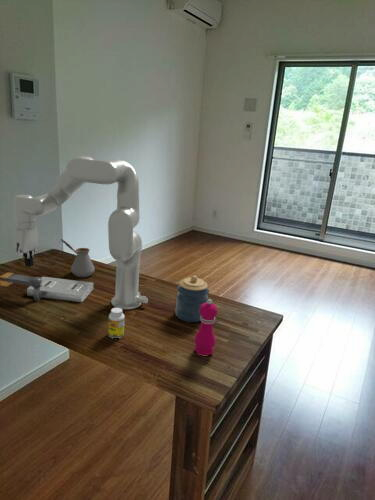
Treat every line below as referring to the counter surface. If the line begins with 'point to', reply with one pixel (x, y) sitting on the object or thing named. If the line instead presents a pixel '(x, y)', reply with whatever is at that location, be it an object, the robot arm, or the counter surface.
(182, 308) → the canister
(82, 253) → the coffee pot
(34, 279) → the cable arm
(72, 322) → the counter surface
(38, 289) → the pivot post
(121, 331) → the supplement bottle
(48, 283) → the panel
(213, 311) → the pepper mill
